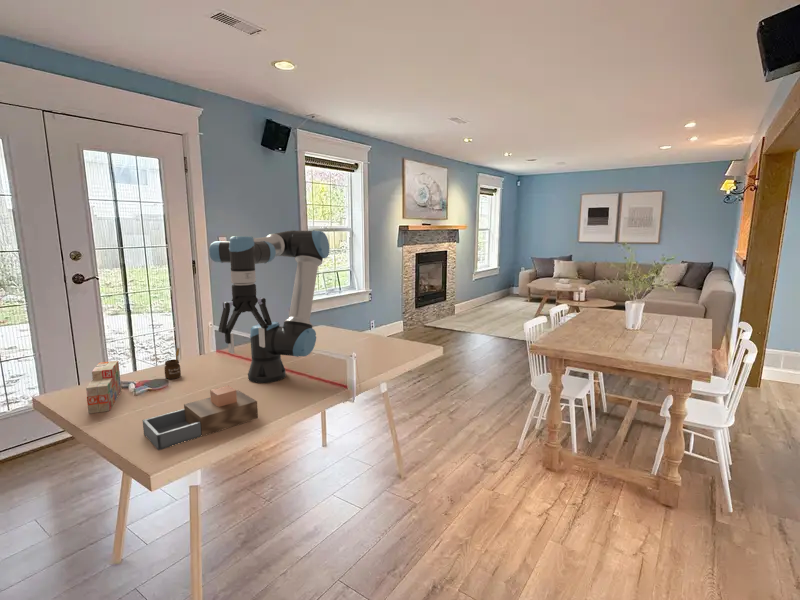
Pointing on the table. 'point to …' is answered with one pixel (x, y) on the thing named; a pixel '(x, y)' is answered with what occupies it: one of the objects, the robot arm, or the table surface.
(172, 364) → the utensil holder
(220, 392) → the salmon orange block
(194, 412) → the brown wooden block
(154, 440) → the box
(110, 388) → the stack of blocks
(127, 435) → the table surface
